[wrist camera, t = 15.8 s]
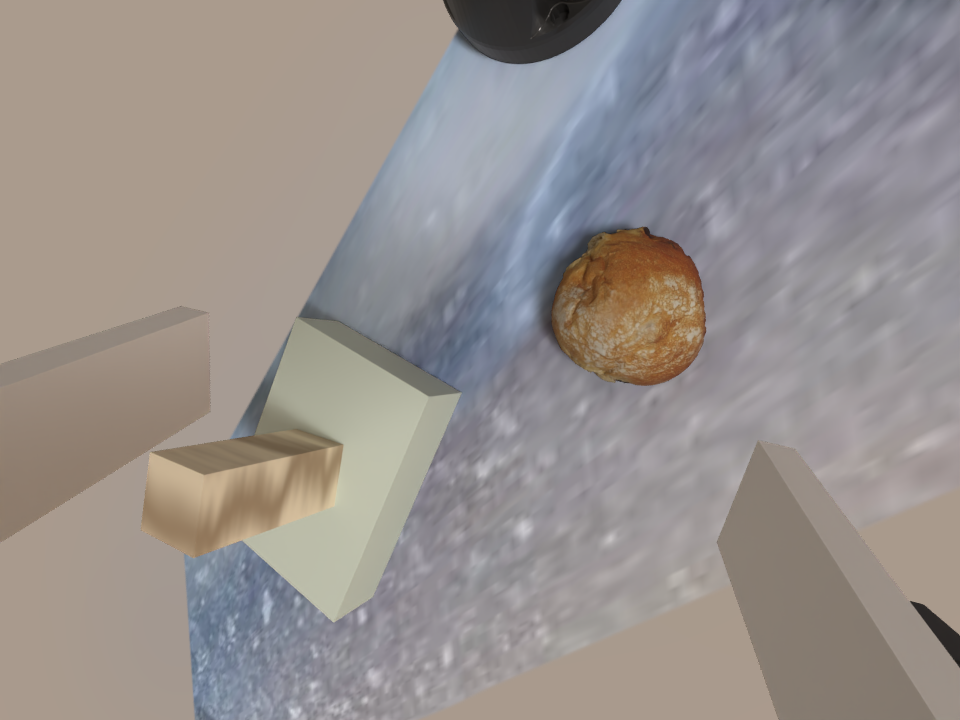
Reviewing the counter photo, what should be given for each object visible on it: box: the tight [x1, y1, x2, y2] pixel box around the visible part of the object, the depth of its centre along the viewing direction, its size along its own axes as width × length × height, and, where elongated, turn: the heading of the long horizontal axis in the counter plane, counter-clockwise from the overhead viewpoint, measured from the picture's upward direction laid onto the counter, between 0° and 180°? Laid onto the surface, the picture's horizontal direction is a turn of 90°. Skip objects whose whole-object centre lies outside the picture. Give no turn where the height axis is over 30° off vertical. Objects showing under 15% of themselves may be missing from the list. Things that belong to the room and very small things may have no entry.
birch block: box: [141, 429, 344, 558], centre depth 37 cm, size 5×5×12 cm
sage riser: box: [242, 317, 461, 622], centre depth 45 cm, size 20×14×5 cm
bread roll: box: [551, 227, 706, 386], centre depth 35 cm, size 10×10×8 cm
